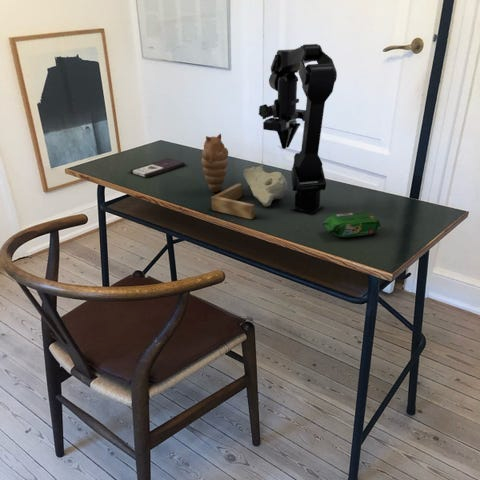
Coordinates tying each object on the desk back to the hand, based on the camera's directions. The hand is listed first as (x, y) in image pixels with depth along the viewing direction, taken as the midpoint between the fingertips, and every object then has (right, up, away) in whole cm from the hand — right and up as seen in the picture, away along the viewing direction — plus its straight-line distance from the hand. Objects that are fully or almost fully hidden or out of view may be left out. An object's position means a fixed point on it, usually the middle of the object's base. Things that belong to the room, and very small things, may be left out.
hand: (285, 148), depth 168 cm
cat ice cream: (-22, -14, +2) cm, 26 cm away
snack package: (+15, -32, -27) cm, 45 cm away
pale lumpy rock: (-8, -17, -4) cm, 20 cm away
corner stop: (-13, -21, -9) cm, 26 cm away
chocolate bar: (-44, 0, +23) cm, 50 cm away
